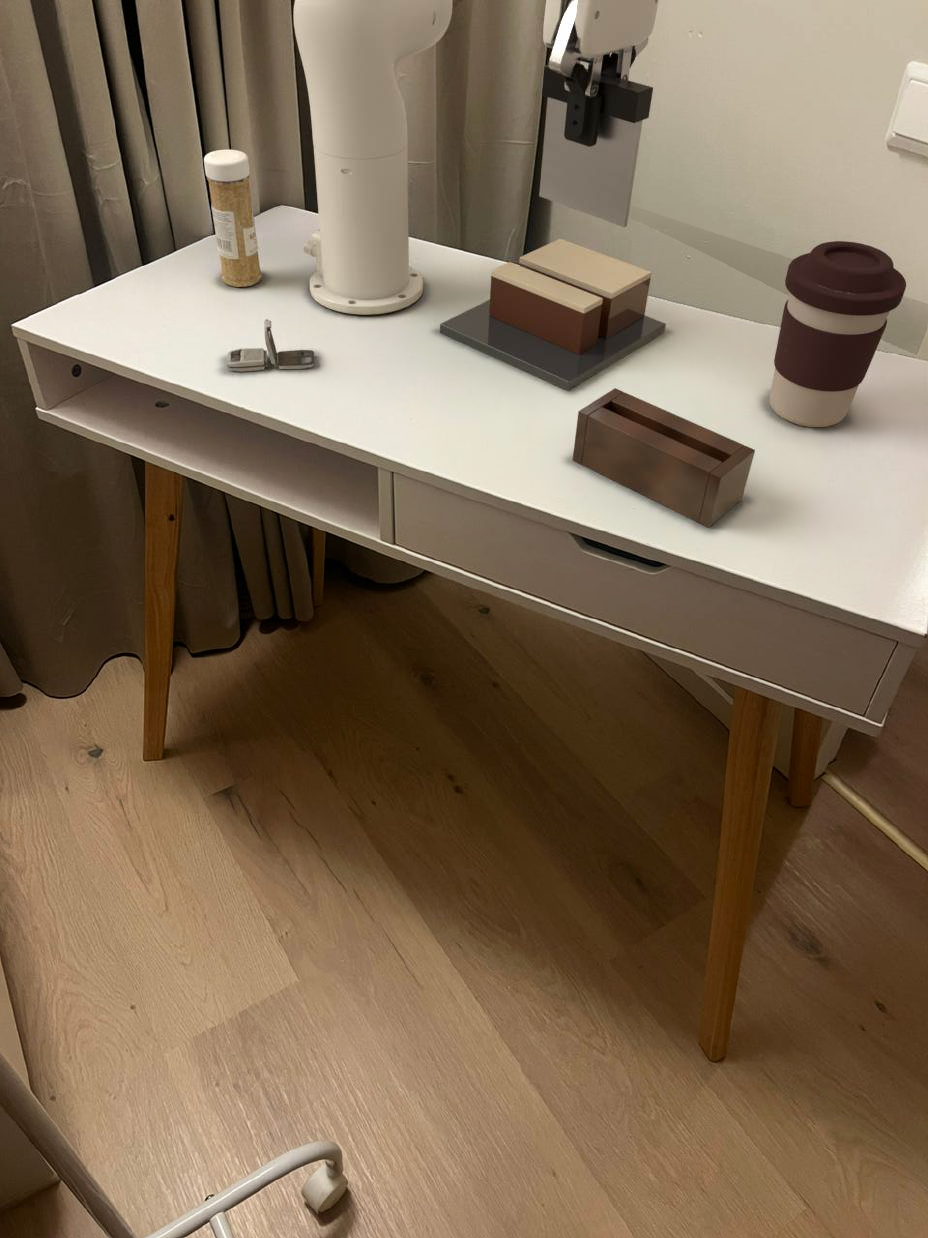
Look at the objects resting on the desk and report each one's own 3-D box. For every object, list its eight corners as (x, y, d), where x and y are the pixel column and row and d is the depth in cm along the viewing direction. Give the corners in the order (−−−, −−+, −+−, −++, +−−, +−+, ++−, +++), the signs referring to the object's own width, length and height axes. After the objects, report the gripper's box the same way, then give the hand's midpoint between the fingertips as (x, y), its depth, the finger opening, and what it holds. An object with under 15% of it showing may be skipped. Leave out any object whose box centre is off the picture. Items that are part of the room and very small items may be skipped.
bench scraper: (532, 198, 94) (543, 65, 86) (547, 192, 95) (559, 60, 87) (618, 230, 89) (638, 92, 81) (632, 223, 91) (653, 87, 83)
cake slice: (488, 315, 105) (491, 270, 102) (507, 306, 107) (509, 261, 104) (579, 354, 100) (584, 307, 96) (597, 344, 101) (603, 298, 98)
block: (572, 460, 88) (578, 410, 84) (607, 436, 91) (615, 387, 87) (708, 527, 81) (721, 477, 78) (742, 499, 84) (755, 449, 81)
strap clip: (227, 372, 97) (221, 332, 94) (228, 357, 99) (222, 317, 96) (315, 368, 98) (311, 329, 95) (314, 353, 100) (310, 314, 97)
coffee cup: (782, 372, 100) (823, 223, 90) (876, 406, 96) (930, 254, 86) (735, 411, 95) (773, 256, 84) (833, 449, 90) (885, 292, 80)
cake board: (439, 332, 104) (440, 277, 100) (540, 282, 114) (544, 230, 110) (567, 391, 96) (574, 333, 92) (664, 332, 106) (674, 278, 102)
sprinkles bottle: (269, 282, 112) (254, 157, 103) (231, 291, 110) (213, 165, 101) (251, 267, 115) (236, 144, 105) (214, 276, 113) (196, 151, 104)
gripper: (640, -133, 81) (609, 109, 94) (514, -117, 73) (499, 148, 85) (718, -121, 78) (675, 129, 91) (596, -102, 69) (568, 171, 82)
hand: (590, 136), depth 88 cm, fingers closed on bench scraper, 2 cm apart
